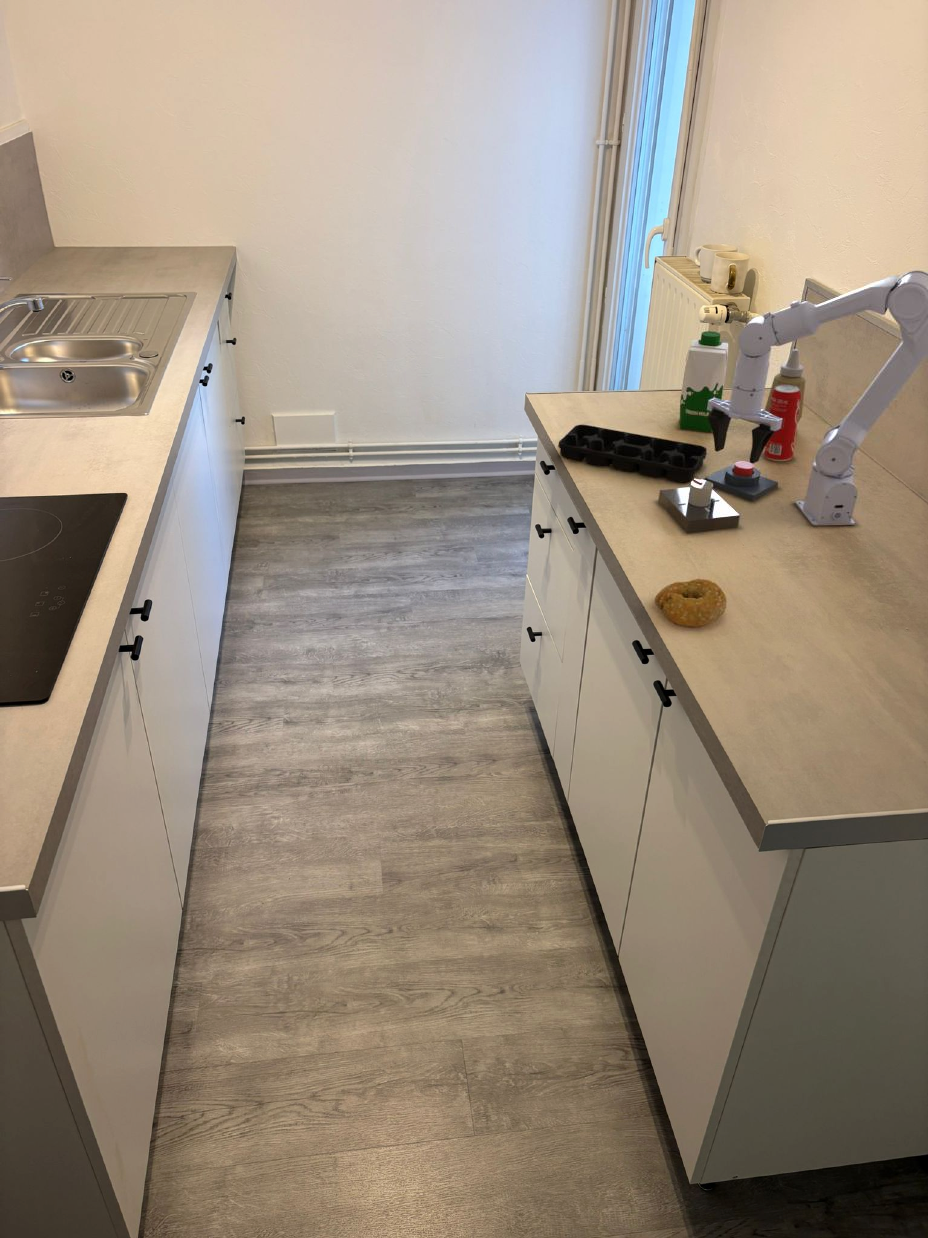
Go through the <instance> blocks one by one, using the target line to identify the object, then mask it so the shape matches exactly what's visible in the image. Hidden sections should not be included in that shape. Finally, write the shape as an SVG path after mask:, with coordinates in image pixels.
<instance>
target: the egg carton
mask: <svg viewBox="0 0 928 1238" xmlns="http://www.w3.org/2000/svg"><path fill="white" fill-rule="evenodd" d="M557 447H558V448H559V449H560V450H559V453H560V456H561V457H562V458H563V459H565V460H569V461H574V462H582V461H584V460H585V462H586V464H587V465H589V466H594V467H603V468H607V467H610V466H611V468H612V469H613V470H615V471H619V472H623V473H635V472H636V471H637V470H638V469H639V470H638V471H639V474H641V475H643V476H645V477H651V478H655V479H657V478H667V480H669V481H671V482H675V483H682V484H687V483H691V482H692V481H693V479H694V475H695V473H696V472H698V471H699V470H701V468H702V467H703V465H704V460H705V459H706V457H707V455H708V453H707V451H708V449H707V447H705V446H704V445H703V446H702V445H700V444H694V443H688V442H682V441H676V440H671V439H667V438H660V437H656V436H651V435H644V434H638V433H633V432H627V431H622V430H615V429H611V428H604V427H600V426H594V425H589V424H576V425H574V426H573V427H572V429H570V430H569V432H567V434H565V435H564V436H563V437H562V438H561V439H560V440H559V441H558V446H557Z"/></svg>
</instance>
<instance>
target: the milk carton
mask: <svg viewBox="0 0 928 1238" xmlns="http://www.w3.org/2000/svg"><path fill="white" fill-rule="evenodd" d="M689 346H690V347H689V348H688V351H687V354H686V357H685V360H684V361H685V365H684V371H683V377H682V385H681V393H680V401H679V429H680V430H685V431H693V432H703V433H710V434H711V433H713V432H712V429H711V426H710V423H709V421H708V415H710V414H711V412H712V411H709V410H707V406H708V400H711V399H713V398H716V399H720V400H723V399H722V398H723V391H724V387H725V381H726V374H727V366H728V359H729V342H723V341H721V334H720V333H719V332H716V331H711V330H710V331H709V330H707V331H702V332H701V334H700V339H692V341H691V343H690V345H689Z"/></svg>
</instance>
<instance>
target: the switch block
mask: <svg viewBox="0 0 928 1238" xmlns="http://www.w3.org/2000/svg"><path fill="white" fill-rule="evenodd" d="M734 466H735V464H732V465H731V464H730V465H728V466H726V467H724V468H721V469H720V470H718V471H716V472H713V473H712V474H710V475H708V476H705V477H704V480H706V481H709V482H711V483H712V484H713V488H714V489H717V490H719V491H722V492H725V493H727V494H730V495H732V496H735V497H738V498H740V499H744V500H746V501H749V502H752V503H753V502H755V501H757V500H759V499H760V498H762V497H765V496H766V495H768V494H770V493H772V492H773V491H775V490H777V489H778V487H779V481H776V480H773V479H770V478H767V477H765V476H762V475H761V471H760V470H759V469H758V468H756V467H754V468H753V473H752V475H751V476H741V475H737V474H735V473H734Z"/></svg>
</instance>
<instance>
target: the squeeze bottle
mask: <svg viewBox="0 0 928 1238" xmlns="http://www.w3.org/2000/svg"><path fill="white" fill-rule="evenodd" d="M799 357H800V353H799V349H798V348H793V349H792V350H791V353H790V355H789V357H788V360H787V362H786V363H782V364H781V365H780V369H779V373H777V374H775V375H774V377H773V381H772V382H771V383H772V384H771V386H770V391H769V394H768V396H767V400H766V403H765V407H764V409H763V410H764V411H766V412H768V413H769V412H770V403H771V395H772V392H773V390H774V387H775V386H777V385H782V384H790V385H795V386H798V387H800V392H801V401H800V408H799V416H798V423H797V425H798V424H799V423H800V420H801V419H802V417H803V410H804V409H803V408H804V400H805V399H804V398H805V389H806V379H805V377H804V376H803V372H804V367H803V365H801V364H800V359H799Z"/></svg>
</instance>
